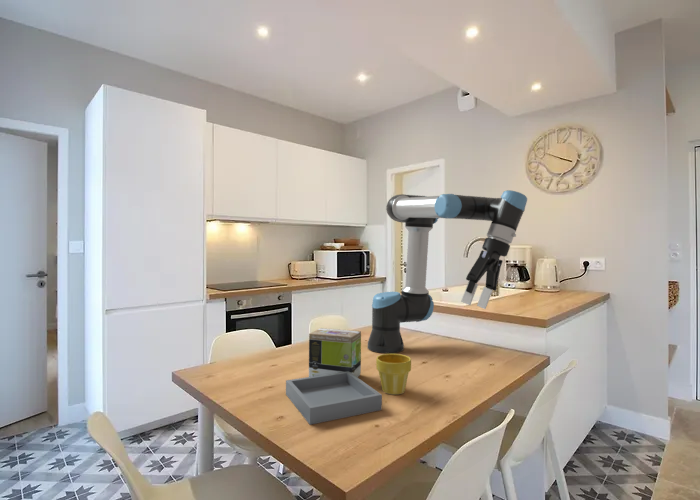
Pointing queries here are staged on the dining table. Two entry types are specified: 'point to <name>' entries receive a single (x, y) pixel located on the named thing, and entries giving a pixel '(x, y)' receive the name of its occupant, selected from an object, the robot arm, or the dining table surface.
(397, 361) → the plant pot
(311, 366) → the tea box
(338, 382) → the serving tray
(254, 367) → the dining table surface
